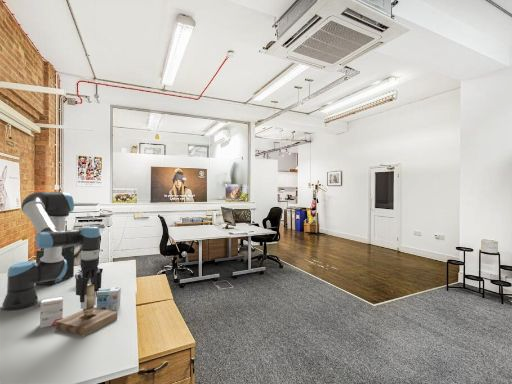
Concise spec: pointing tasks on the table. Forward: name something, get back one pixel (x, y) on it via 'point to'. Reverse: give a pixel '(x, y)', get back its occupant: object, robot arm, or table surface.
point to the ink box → (51, 311)
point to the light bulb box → (109, 298)
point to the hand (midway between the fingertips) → (88, 306)
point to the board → (86, 321)
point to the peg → (89, 300)
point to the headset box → (69, 257)
